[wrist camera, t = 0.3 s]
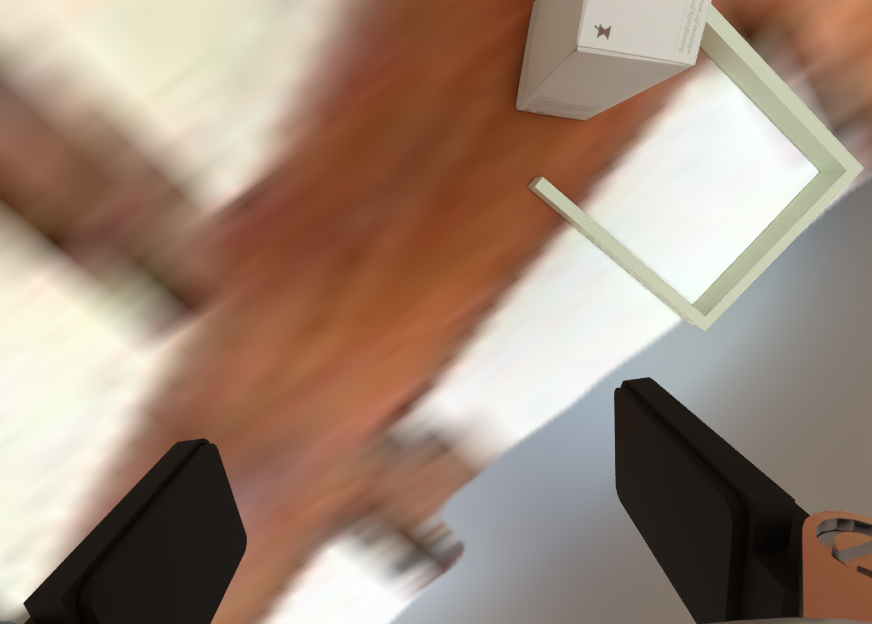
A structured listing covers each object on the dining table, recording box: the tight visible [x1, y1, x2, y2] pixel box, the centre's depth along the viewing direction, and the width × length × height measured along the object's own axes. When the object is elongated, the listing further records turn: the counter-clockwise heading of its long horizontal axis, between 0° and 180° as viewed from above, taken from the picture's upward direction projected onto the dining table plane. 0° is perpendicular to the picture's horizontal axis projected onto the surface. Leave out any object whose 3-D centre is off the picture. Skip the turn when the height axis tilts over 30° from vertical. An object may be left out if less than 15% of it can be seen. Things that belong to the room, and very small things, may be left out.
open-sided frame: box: [528, 4, 864, 331], centre depth 37 cm, size 18×21×2 cm
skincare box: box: [516, 0, 712, 120], centre depth 27 cm, size 8×7×16 cm
